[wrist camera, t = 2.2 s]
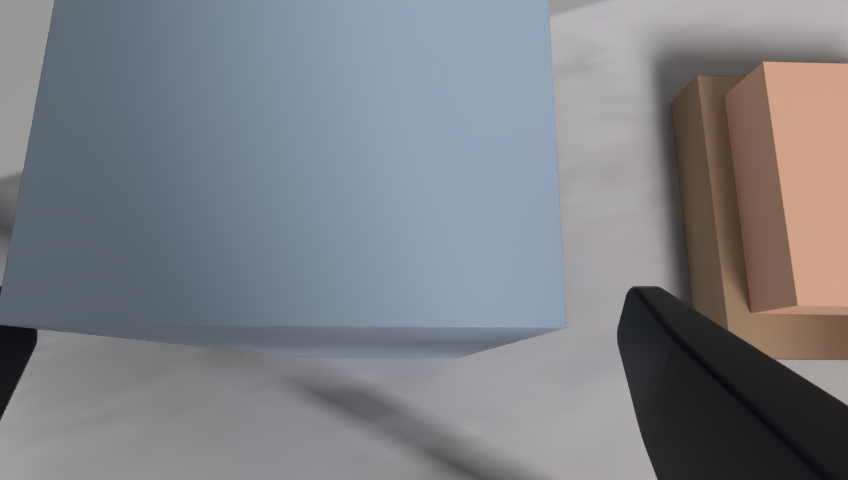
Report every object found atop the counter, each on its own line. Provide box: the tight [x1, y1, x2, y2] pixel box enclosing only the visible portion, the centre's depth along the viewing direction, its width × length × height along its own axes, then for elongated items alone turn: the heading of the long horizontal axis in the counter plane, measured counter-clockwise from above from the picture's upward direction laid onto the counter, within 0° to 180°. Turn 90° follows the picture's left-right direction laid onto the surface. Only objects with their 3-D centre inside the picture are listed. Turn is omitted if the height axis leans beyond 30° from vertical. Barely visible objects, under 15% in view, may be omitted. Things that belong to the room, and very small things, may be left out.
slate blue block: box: [0, 0, 567, 358], centre depth 12 cm, size 5×5×13 cm
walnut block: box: [671, 75, 848, 360], centre depth 18 cm, size 9×9×2 cm
